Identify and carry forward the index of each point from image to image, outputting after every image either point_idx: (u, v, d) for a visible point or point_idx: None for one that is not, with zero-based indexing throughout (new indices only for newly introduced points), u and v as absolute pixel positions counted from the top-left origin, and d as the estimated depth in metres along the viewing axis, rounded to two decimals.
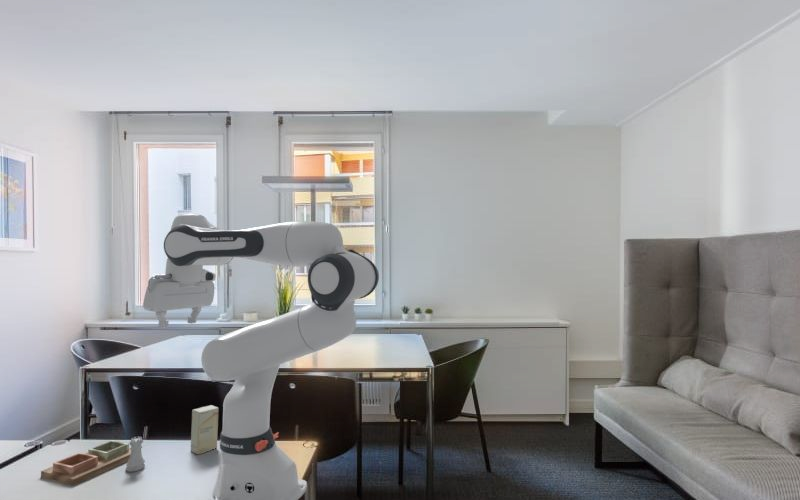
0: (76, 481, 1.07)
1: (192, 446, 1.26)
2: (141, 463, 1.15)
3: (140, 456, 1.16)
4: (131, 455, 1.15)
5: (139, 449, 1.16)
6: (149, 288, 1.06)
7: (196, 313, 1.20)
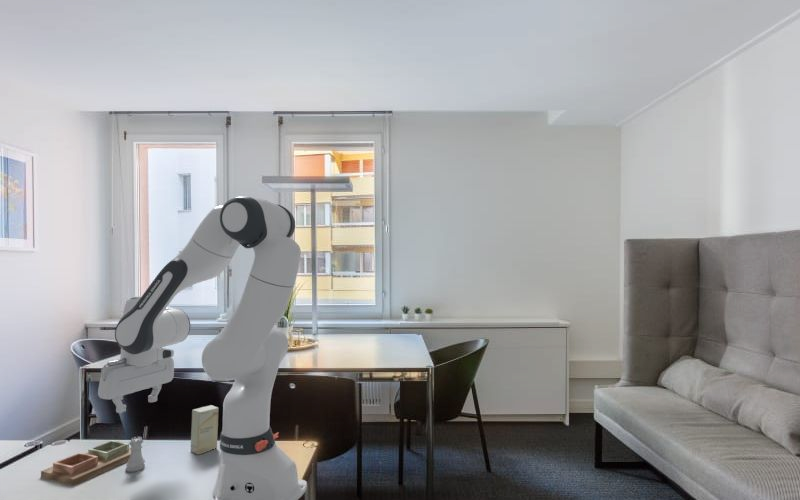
0: (76, 481, 1.07)
1: (192, 446, 1.26)
2: (141, 463, 1.15)
3: (140, 456, 1.16)
4: (131, 455, 1.15)
5: (139, 449, 1.16)
6: (102, 377, 1.07)
7: (156, 391, 1.21)
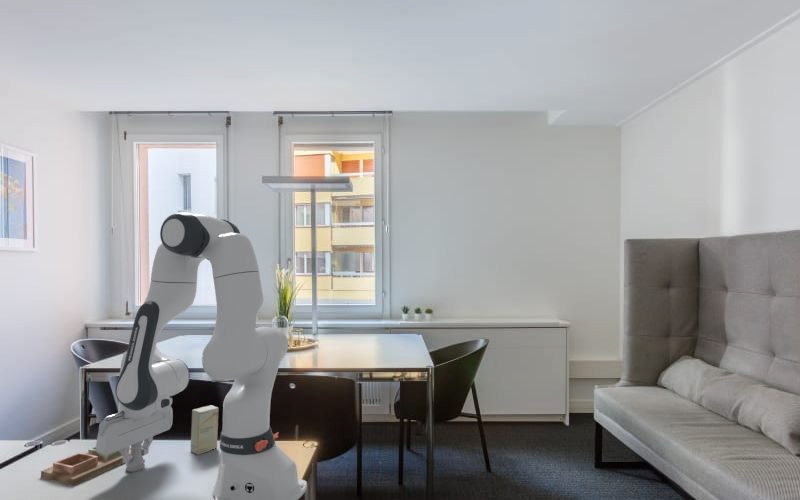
0: (76, 481, 1.07)
1: (192, 446, 1.26)
2: (141, 463, 1.15)
3: (140, 456, 1.16)
4: None
5: (139, 449, 1.16)
6: (100, 433, 1.07)
7: (148, 444, 1.19)
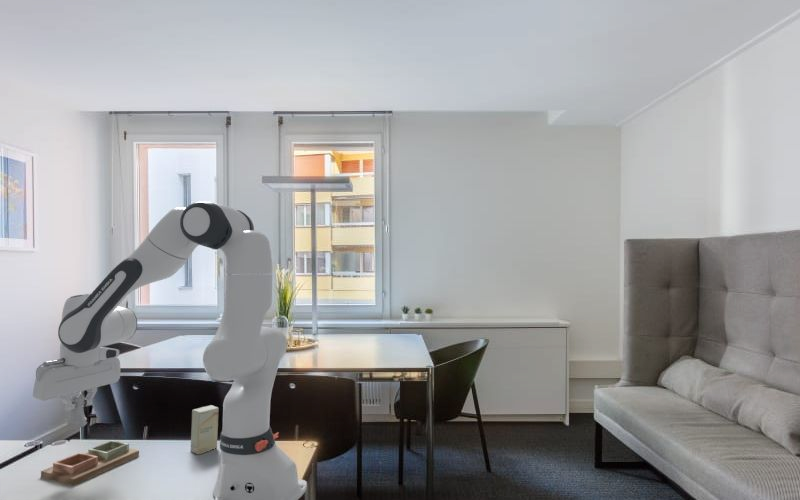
0: (76, 481, 1.07)
1: (192, 446, 1.26)
2: (82, 420, 1.13)
3: (81, 413, 1.13)
4: (72, 412, 1.12)
5: (80, 406, 1.13)
6: (37, 377, 1.04)
7: (91, 395, 1.16)
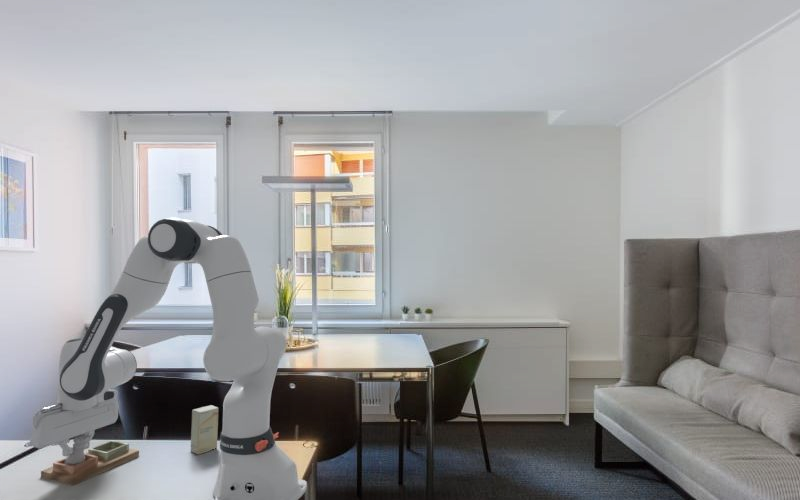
0: (76, 481, 1.07)
1: (192, 446, 1.26)
2: (80, 462, 1.12)
3: (81, 454, 1.13)
4: None
5: (82, 448, 1.12)
6: (34, 425, 1.03)
7: (89, 437, 1.15)
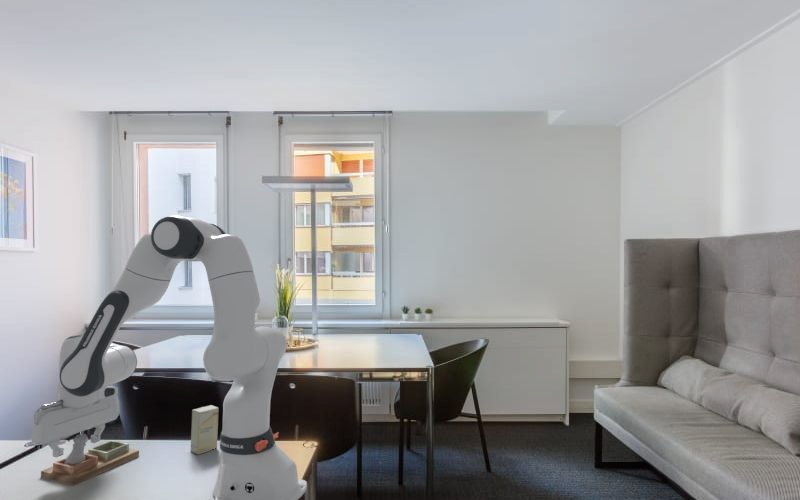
0: (76, 481, 1.07)
1: (192, 446, 1.26)
2: (80, 462, 1.12)
3: (81, 454, 1.13)
4: (72, 452, 1.11)
5: (82, 448, 1.12)
6: (35, 421, 1.03)
7: (99, 431, 1.18)
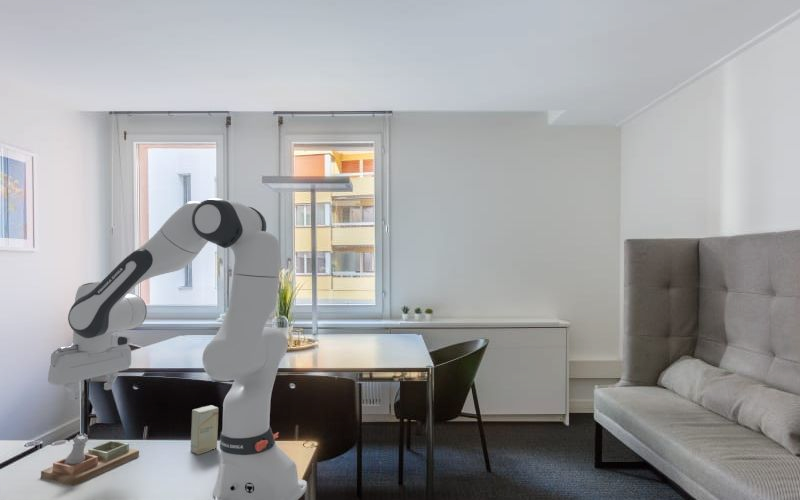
0: (76, 481, 1.07)
1: (192, 446, 1.26)
2: (80, 462, 1.12)
3: (81, 454, 1.13)
4: (72, 452, 1.11)
5: (82, 448, 1.12)
6: (52, 363, 1.06)
7: (112, 379, 1.20)
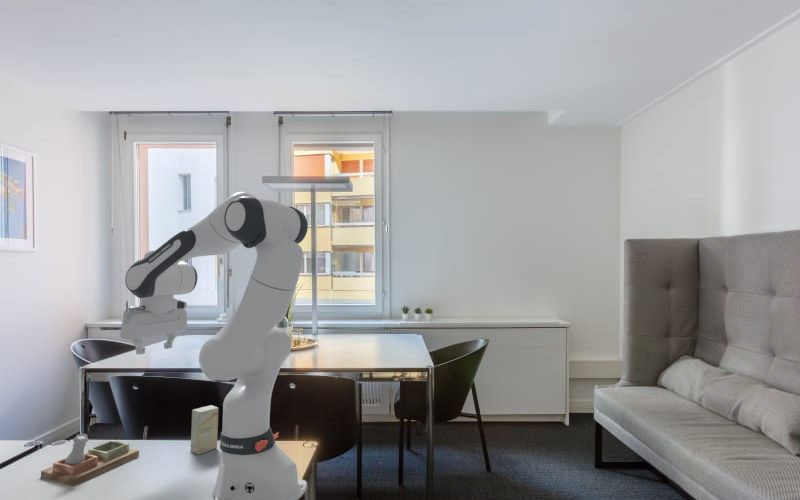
0: (76, 481, 1.07)
1: (192, 446, 1.26)
2: (80, 462, 1.12)
3: (81, 454, 1.13)
4: (72, 452, 1.11)
5: (82, 448, 1.12)
6: (124, 320, 1.19)
7: (171, 339, 1.33)
